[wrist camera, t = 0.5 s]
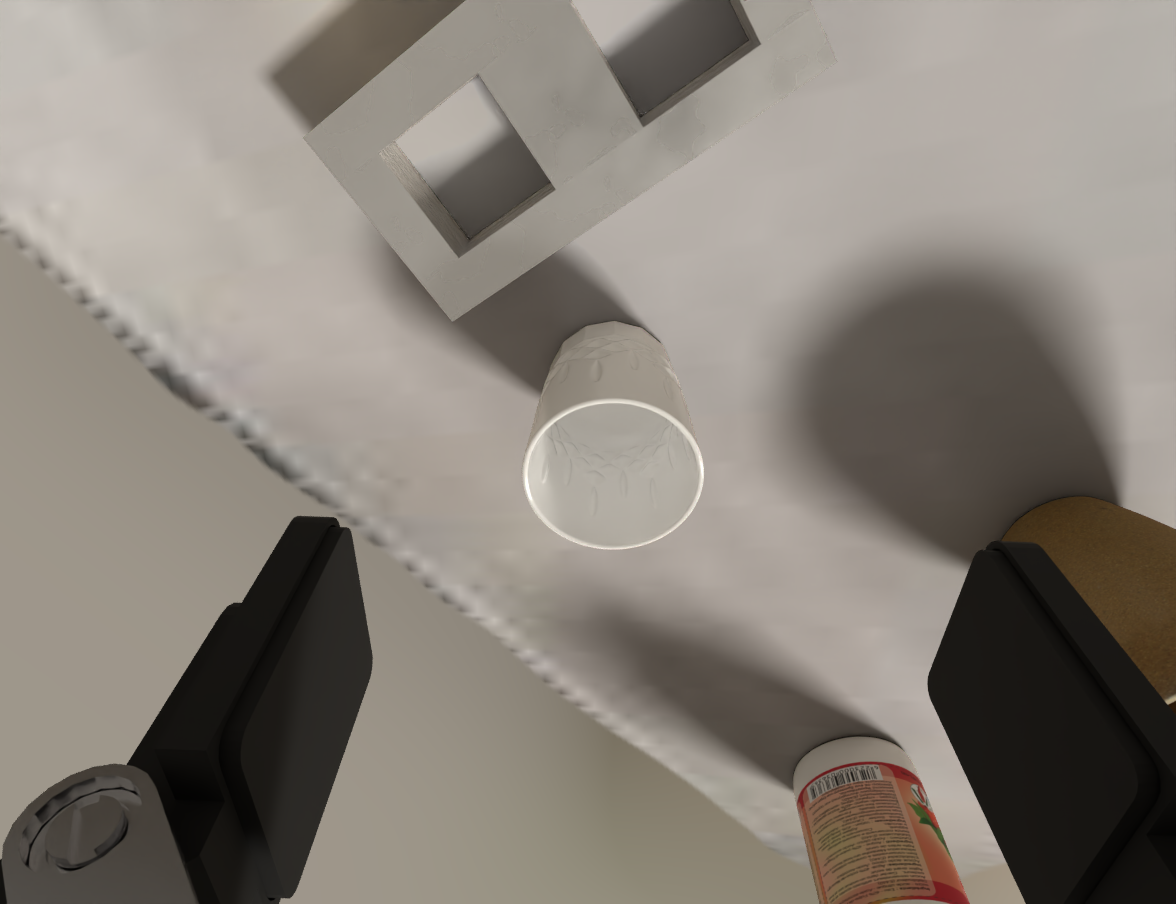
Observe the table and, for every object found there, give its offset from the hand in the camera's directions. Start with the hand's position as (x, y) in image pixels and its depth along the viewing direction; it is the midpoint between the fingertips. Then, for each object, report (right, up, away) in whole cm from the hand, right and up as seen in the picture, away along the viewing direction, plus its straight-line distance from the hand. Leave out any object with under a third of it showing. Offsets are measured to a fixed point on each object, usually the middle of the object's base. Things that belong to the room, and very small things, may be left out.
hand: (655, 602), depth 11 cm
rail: (-2, +18, +22) cm, 29 cm away
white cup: (0, +7, +29) cm, 30 cm away
